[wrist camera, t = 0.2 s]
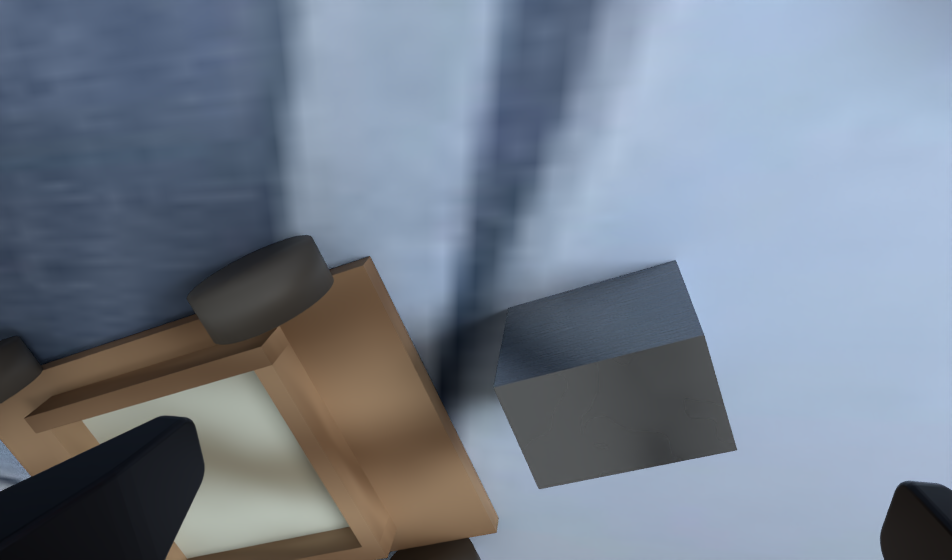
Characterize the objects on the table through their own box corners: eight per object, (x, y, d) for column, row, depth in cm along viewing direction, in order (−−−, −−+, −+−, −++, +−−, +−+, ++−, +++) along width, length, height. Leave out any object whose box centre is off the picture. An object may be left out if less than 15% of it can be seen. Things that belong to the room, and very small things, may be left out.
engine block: (703, 356, 22) (736, 450, 18) (544, 394, 24) (539, 489, 19) (675, 259, 21) (704, 334, 16) (508, 307, 22) (493, 387, 18)
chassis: (511, 544, 27) (501, 637, 24) (159, 604, 33) (103, 689, 29) (350, 216, 22) (301, 268, 18) (-44, 356, 27) (-149, 419, 23)
